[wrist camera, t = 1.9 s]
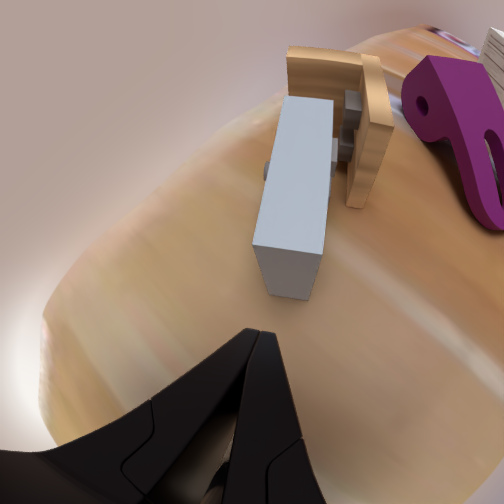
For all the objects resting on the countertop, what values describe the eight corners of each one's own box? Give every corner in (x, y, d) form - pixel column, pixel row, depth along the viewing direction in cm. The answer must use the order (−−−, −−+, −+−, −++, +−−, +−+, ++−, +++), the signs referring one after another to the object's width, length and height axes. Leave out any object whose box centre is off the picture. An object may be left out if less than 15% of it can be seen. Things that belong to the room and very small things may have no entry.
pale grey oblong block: (314, 301, 21) (334, 256, 12) (253, 291, 22) (225, 240, 12) (327, 188, 24) (341, 101, 15) (275, 182, 25) (265, 94, 16)
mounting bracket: (486, 220, 27) (447, 88, 26) (531, 220, 18) (482, 63, 17) (437, 237, 27) (393, 88, 26) (486, 240, 19) (427, 54, 17)
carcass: (362, 208, 23) (394, 126, 14) (280, 197, 24) (272, 109, 15) (361, 136, 26) (378, 57, 17) (292, 127, 27) (289, 45, 18)
